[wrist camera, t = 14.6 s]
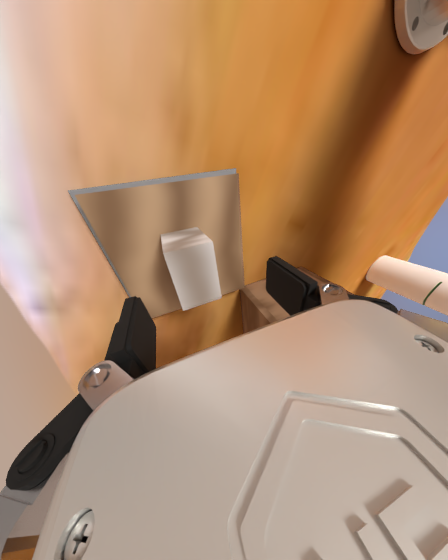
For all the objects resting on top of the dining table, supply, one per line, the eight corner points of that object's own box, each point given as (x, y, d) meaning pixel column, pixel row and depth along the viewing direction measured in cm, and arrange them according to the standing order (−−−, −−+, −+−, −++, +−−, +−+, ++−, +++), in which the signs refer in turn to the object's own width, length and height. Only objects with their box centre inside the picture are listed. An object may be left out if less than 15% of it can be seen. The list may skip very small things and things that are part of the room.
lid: (233, 174, 18) (272, 167, 12) (241, 283, 26) (266, 311, 20) (79, 194, 14) (27, 199, 8) (144, 315, 22) (141, 360, 16)
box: (301, 266, 30) (391, 314, 19) (293, 315, 37) (355, 371, 26) (239, 287, 27) (302, 360, 15) (243, 336, 34) (289, 411, 22)
